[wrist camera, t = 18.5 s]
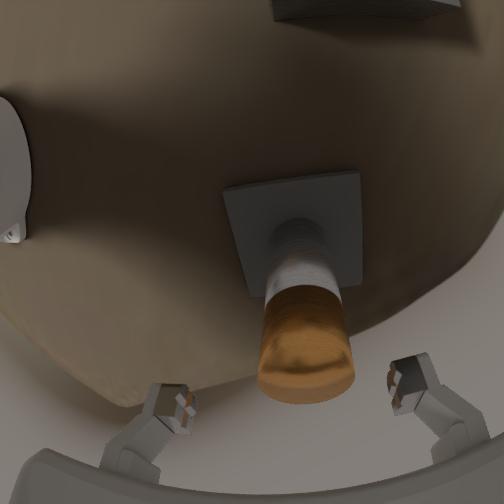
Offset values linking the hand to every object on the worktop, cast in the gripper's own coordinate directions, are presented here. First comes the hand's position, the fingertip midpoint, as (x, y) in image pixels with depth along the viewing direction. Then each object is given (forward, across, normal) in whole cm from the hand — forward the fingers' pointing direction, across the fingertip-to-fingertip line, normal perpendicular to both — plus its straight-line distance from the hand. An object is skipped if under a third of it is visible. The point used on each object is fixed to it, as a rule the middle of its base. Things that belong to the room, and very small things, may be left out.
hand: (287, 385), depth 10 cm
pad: (+12, -1, 0) cm, 12 cm away
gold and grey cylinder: (+11, -1, +1) cm, 11 cm away
